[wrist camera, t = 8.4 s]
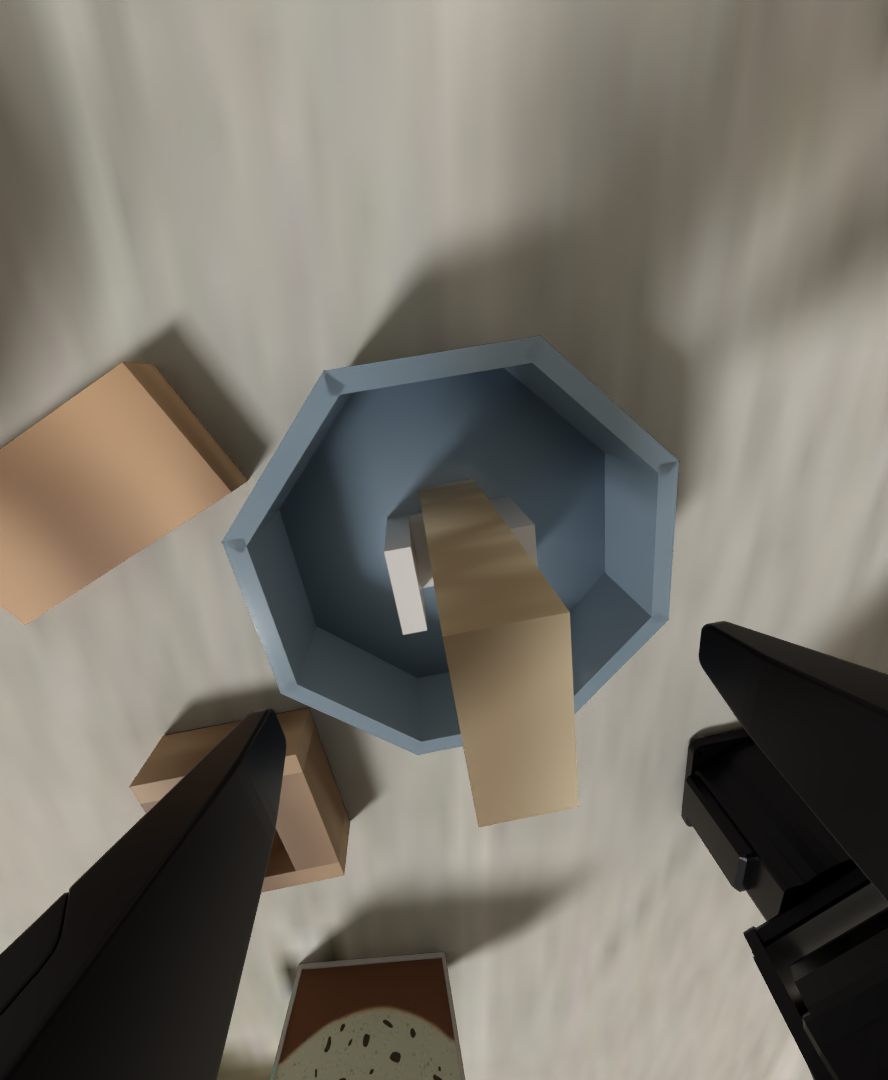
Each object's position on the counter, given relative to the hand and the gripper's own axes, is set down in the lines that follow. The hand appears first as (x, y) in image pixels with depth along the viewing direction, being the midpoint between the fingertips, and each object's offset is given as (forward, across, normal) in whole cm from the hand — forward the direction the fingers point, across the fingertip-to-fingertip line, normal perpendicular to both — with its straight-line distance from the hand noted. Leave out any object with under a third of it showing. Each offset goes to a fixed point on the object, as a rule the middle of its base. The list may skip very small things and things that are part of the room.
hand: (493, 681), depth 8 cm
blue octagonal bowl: (+8, 0, 0) cm, 9 cm away
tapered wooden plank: (+9, +12, -4) cm, 15 cm away
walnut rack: (+8, +11, +11) cm, 18 cm away
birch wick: (+8, 0, 0) cm, 8 cm away
